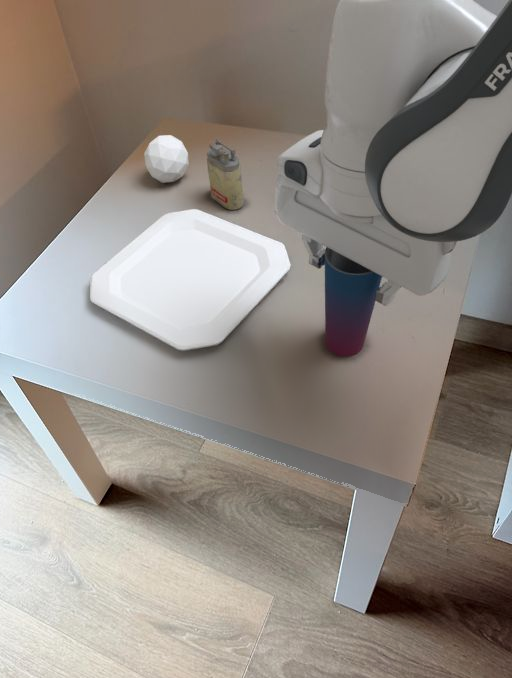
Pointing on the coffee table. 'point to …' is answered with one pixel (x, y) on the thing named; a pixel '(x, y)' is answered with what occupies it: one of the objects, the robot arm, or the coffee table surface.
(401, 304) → the coffee table surface
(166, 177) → the geometric ball
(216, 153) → the lighter
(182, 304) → the plate
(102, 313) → the coffee table surface
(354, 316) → the cup
